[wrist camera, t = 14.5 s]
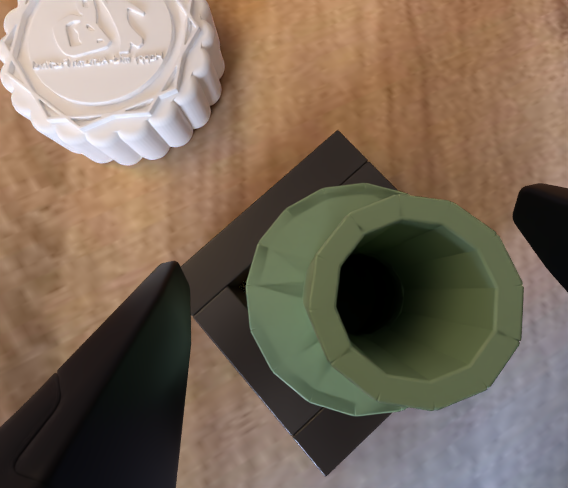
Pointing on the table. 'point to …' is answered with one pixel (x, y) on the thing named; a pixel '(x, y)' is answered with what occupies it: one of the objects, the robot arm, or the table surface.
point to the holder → (234, 310)
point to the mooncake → (113, 73)
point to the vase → (383, 301)
